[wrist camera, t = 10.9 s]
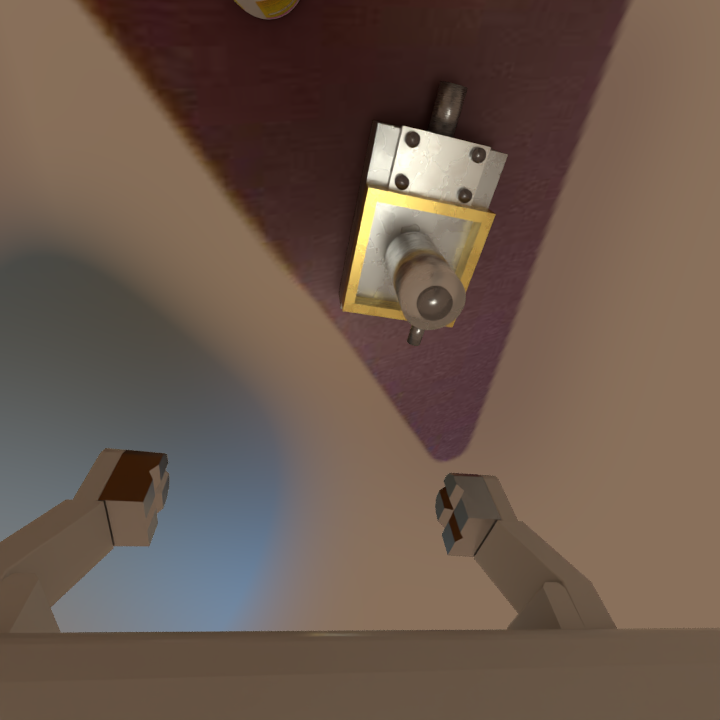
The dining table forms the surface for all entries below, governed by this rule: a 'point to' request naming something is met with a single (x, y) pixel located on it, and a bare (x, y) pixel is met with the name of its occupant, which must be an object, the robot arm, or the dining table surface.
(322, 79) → the dining table surface
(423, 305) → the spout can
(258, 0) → the supplement bottle
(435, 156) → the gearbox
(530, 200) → the dining table surface
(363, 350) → the dining table surface
